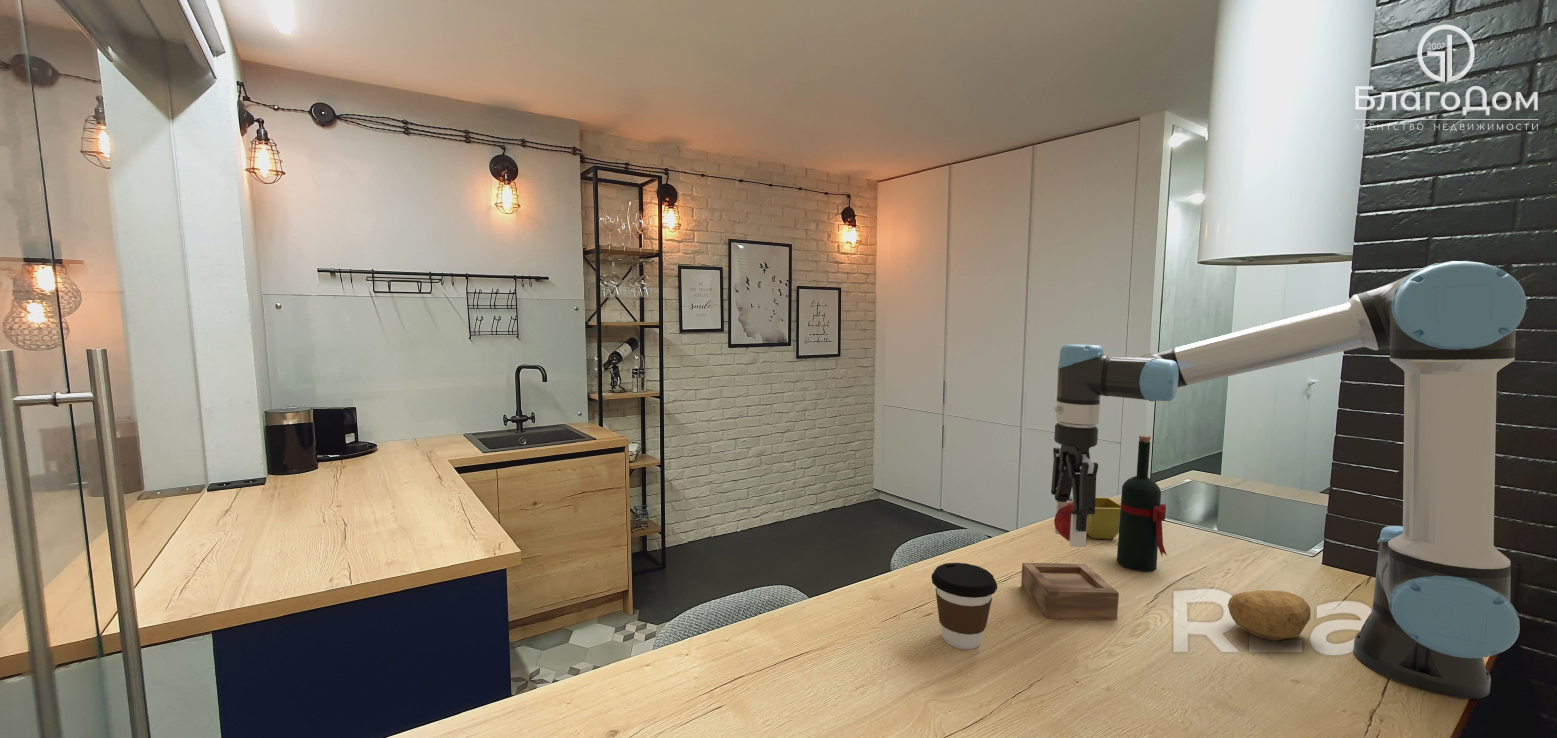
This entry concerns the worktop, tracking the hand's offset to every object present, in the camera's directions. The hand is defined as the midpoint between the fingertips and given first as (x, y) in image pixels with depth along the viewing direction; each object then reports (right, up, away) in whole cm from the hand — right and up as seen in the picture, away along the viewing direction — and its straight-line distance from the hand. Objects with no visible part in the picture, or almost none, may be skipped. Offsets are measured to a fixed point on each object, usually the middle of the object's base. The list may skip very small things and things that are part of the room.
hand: (1069, 539), depth 118 cm
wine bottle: (+25, -12, +19) cm, 33 cm away
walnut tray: (0, -13, +1) cm, 13 cm away
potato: (+31, -14, -11) cm, 35 cm away
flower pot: (+26, -10, +37) cm, 47 cm away
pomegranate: (0, 0, 0) cm, 0 cm away
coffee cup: (-25, -14, -13) cm, 32 cm away
